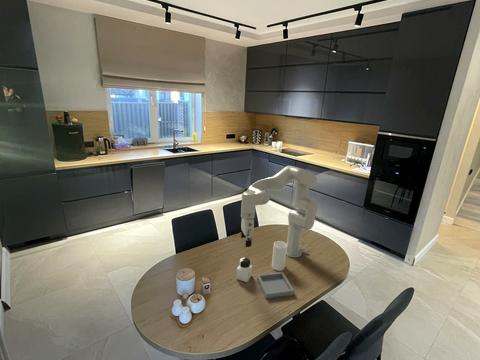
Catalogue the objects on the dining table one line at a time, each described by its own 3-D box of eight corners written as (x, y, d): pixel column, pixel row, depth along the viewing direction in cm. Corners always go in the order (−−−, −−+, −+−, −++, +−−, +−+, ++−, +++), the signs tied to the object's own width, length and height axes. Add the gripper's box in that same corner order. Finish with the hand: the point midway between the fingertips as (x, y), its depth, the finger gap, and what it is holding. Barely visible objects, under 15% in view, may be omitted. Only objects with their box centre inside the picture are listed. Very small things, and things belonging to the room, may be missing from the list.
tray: (282, 275, 154) (282, 271, 153) (293, 294, 139) (294, 290, 138) (256, 279, 150) (257, 274, 149) (265, 299, 135) (266, 294, 134)
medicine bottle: (251, 275, 153) (253, 258, 149) (247, 282, 147) (248, 264, 143) (241, 271, 156) (242, 254, 152) (235, 278, 149) (236, 261, 146)
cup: (285, 264, 165) (288, 242, 160) (283, 272, 158) (286, 249, 153) (273, 261, 167) (275, 239, 163) (270, 268, 160) (272, 246, 155)
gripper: (259, 220, 132) (256, 249, 137) (250, 207, 148) (248, 233, 153) (245, 221, 130) (243, 251, 135) (237, 208, 146) (236, 234, 151)
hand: (245, 241), depth 144 cm, fingers open, 9 cm apart
